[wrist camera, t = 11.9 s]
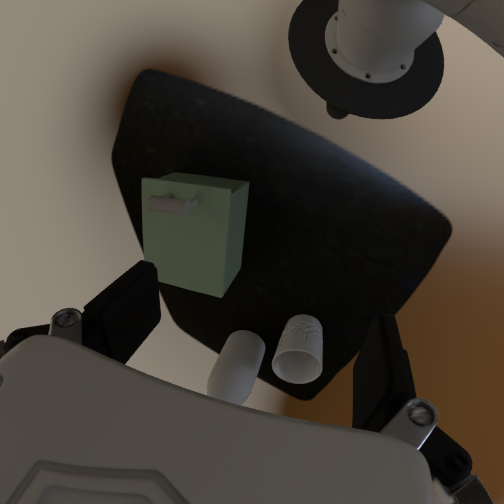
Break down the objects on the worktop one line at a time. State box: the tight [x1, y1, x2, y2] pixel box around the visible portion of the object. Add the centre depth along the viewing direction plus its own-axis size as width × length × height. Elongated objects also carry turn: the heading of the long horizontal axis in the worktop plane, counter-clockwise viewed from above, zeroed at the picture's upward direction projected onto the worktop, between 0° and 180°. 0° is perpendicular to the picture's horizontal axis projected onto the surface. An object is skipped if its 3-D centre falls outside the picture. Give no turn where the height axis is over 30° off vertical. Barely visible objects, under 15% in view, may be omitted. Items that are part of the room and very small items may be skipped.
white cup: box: [272, 314, 323, 384], centre depth 46 cm, size 8×8×10 cm
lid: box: [142, 178, 231, 298], centre depth 36 cm, size 15×13×5 cm
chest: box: [158, 172, 249, 295], centre depth 43 cm, size 15×13×9 cm
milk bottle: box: [207, 330, 265, 405], centre depth 47 cm, size 8×8×20 cm
